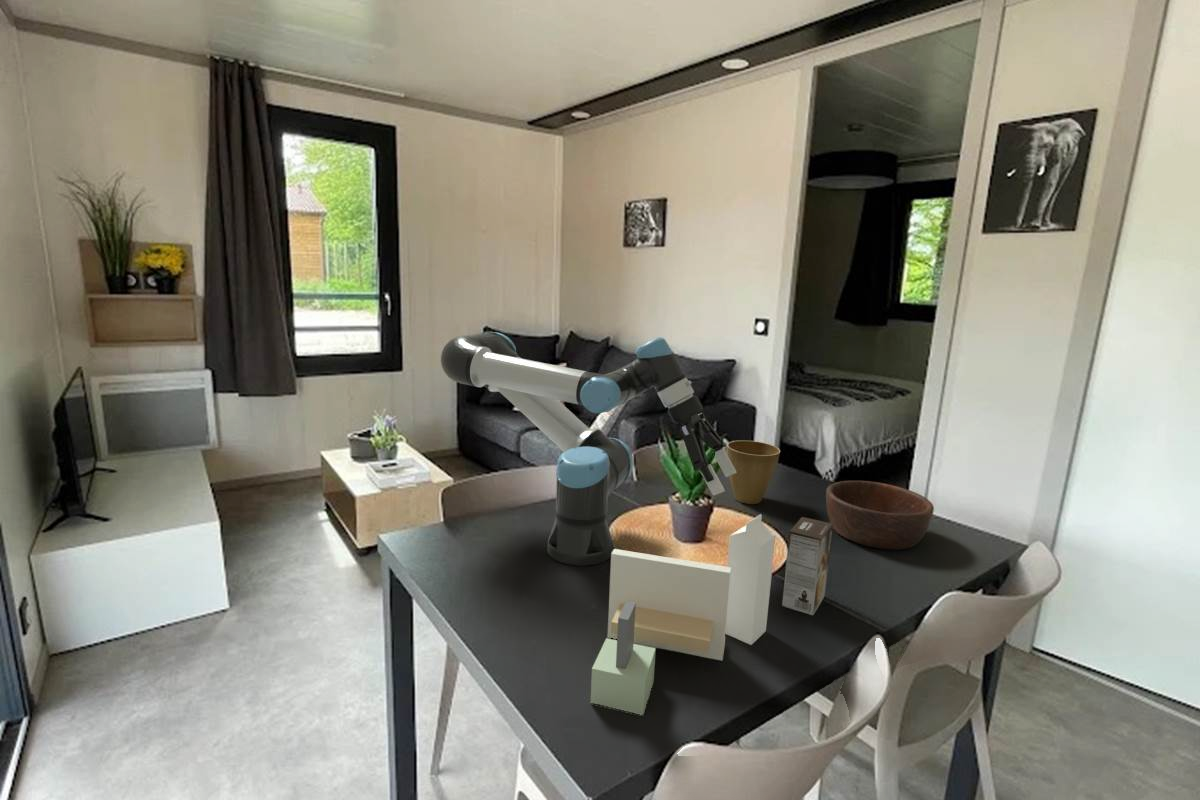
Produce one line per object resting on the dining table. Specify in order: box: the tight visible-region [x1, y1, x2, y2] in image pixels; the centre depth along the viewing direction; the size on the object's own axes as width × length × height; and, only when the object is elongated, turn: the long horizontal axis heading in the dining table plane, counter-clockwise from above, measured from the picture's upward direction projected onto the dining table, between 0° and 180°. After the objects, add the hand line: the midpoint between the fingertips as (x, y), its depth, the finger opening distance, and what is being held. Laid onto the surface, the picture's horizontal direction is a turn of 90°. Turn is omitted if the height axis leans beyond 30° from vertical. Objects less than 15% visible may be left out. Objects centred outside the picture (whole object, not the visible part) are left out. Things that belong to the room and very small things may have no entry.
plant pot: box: [726, 440, 781, 505], centre depth 175 cm, size 15×15×16 cm
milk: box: [725, 514, 776, 646], centre depth 108 cm, size 6×6×22 cm
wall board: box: [607, 548, 731, 661], centre depth 102 cm, size 20×10×16 cm, turn 74°
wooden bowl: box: [825, 480, 935, 551], centre depth 155 cm, size 25×25×10 cm
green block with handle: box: [590, 601, 657, 716], centre depth 92 cm, size 8×8×14 cm
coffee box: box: [781, 516, 834, 616], centre depth 120 cm, size 9×6×16 cm
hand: (725, 483), depth 138 cm, fingers open, 13 cm apart
